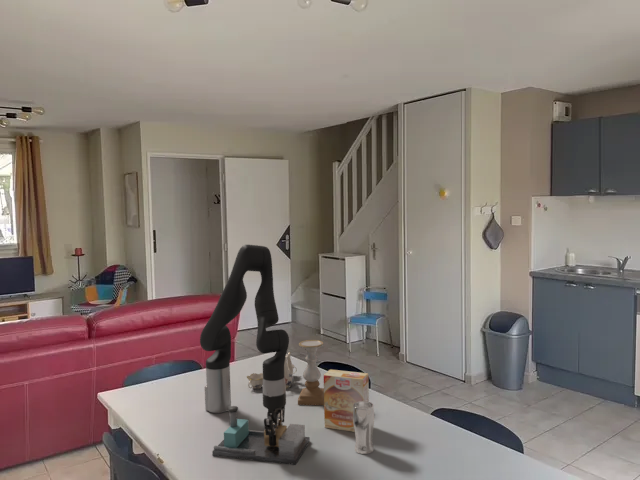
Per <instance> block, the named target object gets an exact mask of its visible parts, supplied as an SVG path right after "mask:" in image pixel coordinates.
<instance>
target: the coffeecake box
mask: <svg viewBox="0 0 640 480" xmlns="http://www.w3.org/2000/svg"><path fill="white" fill-rule="evenodd" d="M369 387H370V386H369V373H368V372H367V373H366V372H360V371H359V372H357V371H348V370H338V369H331V368H330V369H328V371H327V372H325V373H324V374H323V388H324V405H323V407H324V408H323V411H324V412H323V413H324V415H323V416H324V419H323V420H324V428H326V429H333V430H338V431H339V430H340V431H347V432H353V433H355V431H354V425H353V404H354V403H355V402H359V401H368V402H370V398H369V397H370V393H369V389H370V388H369Z"/></svg>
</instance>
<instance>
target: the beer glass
mask: <svg viewBox="0 0 640 480" xmlns="http://www.w3.org/2000/svg"><path fill="white" fill-rule="evenodd" d="M353 425H354V431H355V432H354V436H355V444H354V451H355V452H356V453H357V454H360V455H361V454H362V455H368V454H369V455H370V454H371V453H373V451H374V444H373V433H374V426H375V409H374V403H372V402H371V401H369V402H368V401H359V402H355V403H354V404H353Z"/></svg>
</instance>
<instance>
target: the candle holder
mask: <svg viewBox="0 0 640 480" xmlns="http://www.w3.org/2000/svg"><path fill="white" fill-rule="evenodd" d="M298 346H299V348H302V349H304V350H305V352H306V356H305V358H304V359H305V361H306V362H307V365H306V368H305V369H304V371H303V374H302V377H303V379H304V380H305V382H304V386H305V387H303V388H302V389H301V391H300V394H299V396H298V399H297V406H324V387H320V384H321V383H320V381H319V380H320V379H321V376H322V374H321V371H320V369H319V367H318V366H317V361H318V360H319V358H318V356H317V354H316V353H317V351H318V349H319V348H322V347H323V346H324V341H322V340H318V339H307V340H302V341H299V343H298Z"/></svg>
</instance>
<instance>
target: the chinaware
mask: <svg viewBox="0 0 640 480" xmlns="http://www.w3.org/2000/svg"><path fill="white" fill-rule="evenodd" d="M291 354H292V352H291V351H289V352H287V354H286V358H285V363H284V377H285V384H286V389H288V388H290V387H292V383H293V381H294V379H295V378H294V376H293V375H294V374H295V373H297V367H296V366H295V365H294V364H293V363H292V360H291ZM294 368H295V371H294ZM246 378H247V380H248V384H247V385H248V388H249V389H253V390H258V389H259V390H260V389H261V387H262V384H263V372H261V373H254V372H253V373H251V374H250V375H247V376H246Z"/></svg>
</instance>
